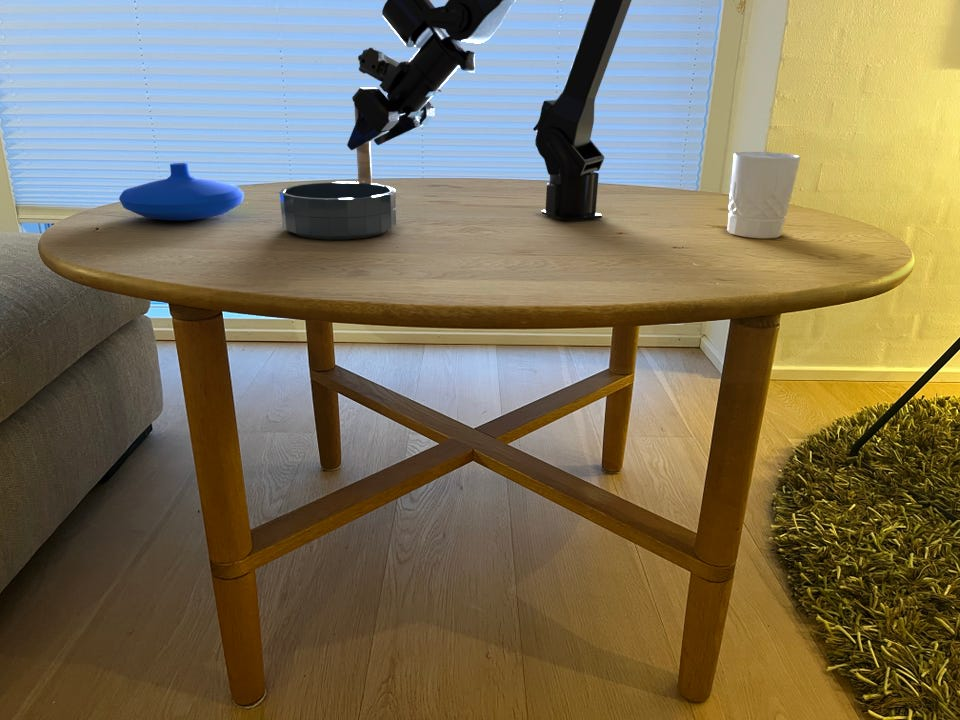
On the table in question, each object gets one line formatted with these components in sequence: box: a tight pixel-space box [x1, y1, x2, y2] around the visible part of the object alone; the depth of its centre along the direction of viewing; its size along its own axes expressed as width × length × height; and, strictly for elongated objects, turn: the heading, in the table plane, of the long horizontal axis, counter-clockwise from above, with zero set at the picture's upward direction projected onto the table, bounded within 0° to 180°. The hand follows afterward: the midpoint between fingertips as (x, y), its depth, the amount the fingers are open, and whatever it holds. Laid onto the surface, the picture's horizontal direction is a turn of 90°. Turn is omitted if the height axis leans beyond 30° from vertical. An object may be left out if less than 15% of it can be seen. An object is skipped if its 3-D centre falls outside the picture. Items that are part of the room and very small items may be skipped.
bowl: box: [279, 181, 397, 241], centre depth 89 cm, size 14×14×5 cm
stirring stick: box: [354, 106, 373, 184], centre depth 111 cm, size 5×5×14 cm
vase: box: [118, 162, 245, 222], centre depth 94 cm, size 16×16×7 cm
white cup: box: [726, 151, 801, 240], centre depth 90 cm, size 8×8×10 cm
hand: (363, 145), depth 110 cm, fingers open, 9 cm apart
